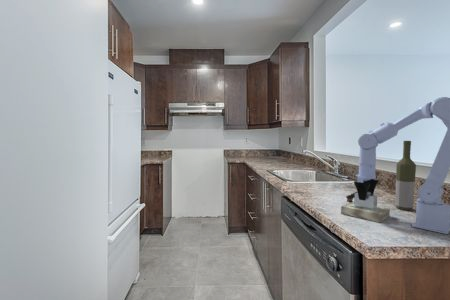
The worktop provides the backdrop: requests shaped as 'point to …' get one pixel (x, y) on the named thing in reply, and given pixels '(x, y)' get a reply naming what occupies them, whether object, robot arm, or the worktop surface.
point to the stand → (366, 212)
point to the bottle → (405, 179)
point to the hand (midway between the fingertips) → (365, 198)
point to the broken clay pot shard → (350, 197)
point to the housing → (366, 201)
